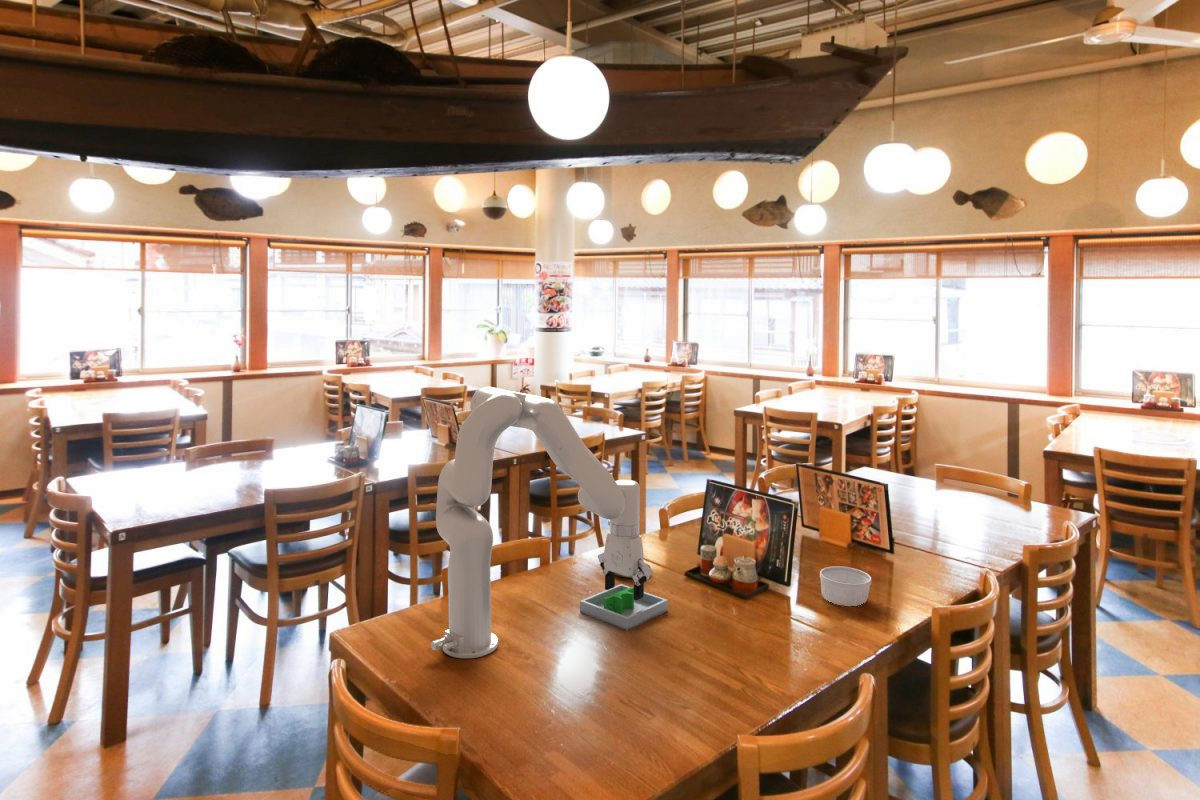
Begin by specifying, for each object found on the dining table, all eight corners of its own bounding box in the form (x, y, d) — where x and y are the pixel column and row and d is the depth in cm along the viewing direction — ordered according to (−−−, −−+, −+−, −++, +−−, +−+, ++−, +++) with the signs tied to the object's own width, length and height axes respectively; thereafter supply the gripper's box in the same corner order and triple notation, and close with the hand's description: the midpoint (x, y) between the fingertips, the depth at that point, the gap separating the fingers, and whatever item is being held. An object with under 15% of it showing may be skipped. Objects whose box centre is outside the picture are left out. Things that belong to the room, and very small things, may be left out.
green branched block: (613, 618, 180) (613, 601, 180) (603, 614, 183) (603, 597, 182) (640, 605, 188) (641, 590, 187) (630, 602, 190) (630, 586, 190)
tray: (627, 630, 174) (627, 618, 174) (579, 612, 185) (580, 600, 185) (667, 611, 186) (667, 599, 186) (620, 594, 197) (620, 583, 196)
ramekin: (881, 605, 191) (882, 580, 190) (841, 612, 186) (842, 586, 185) (847, 587, 203) (848, 563, 202) (808, 594, 198) (809, 569, 197)
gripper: (589, 525, 186) (589, 588, 188) (641, 539, 174) (640, 607, 176) (609, 519, 191) (608, 581, 193) (660, 532, 180) (659, 598, 182)
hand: (623, 593), depth 185 cm, fingers open, 9 cm apart
